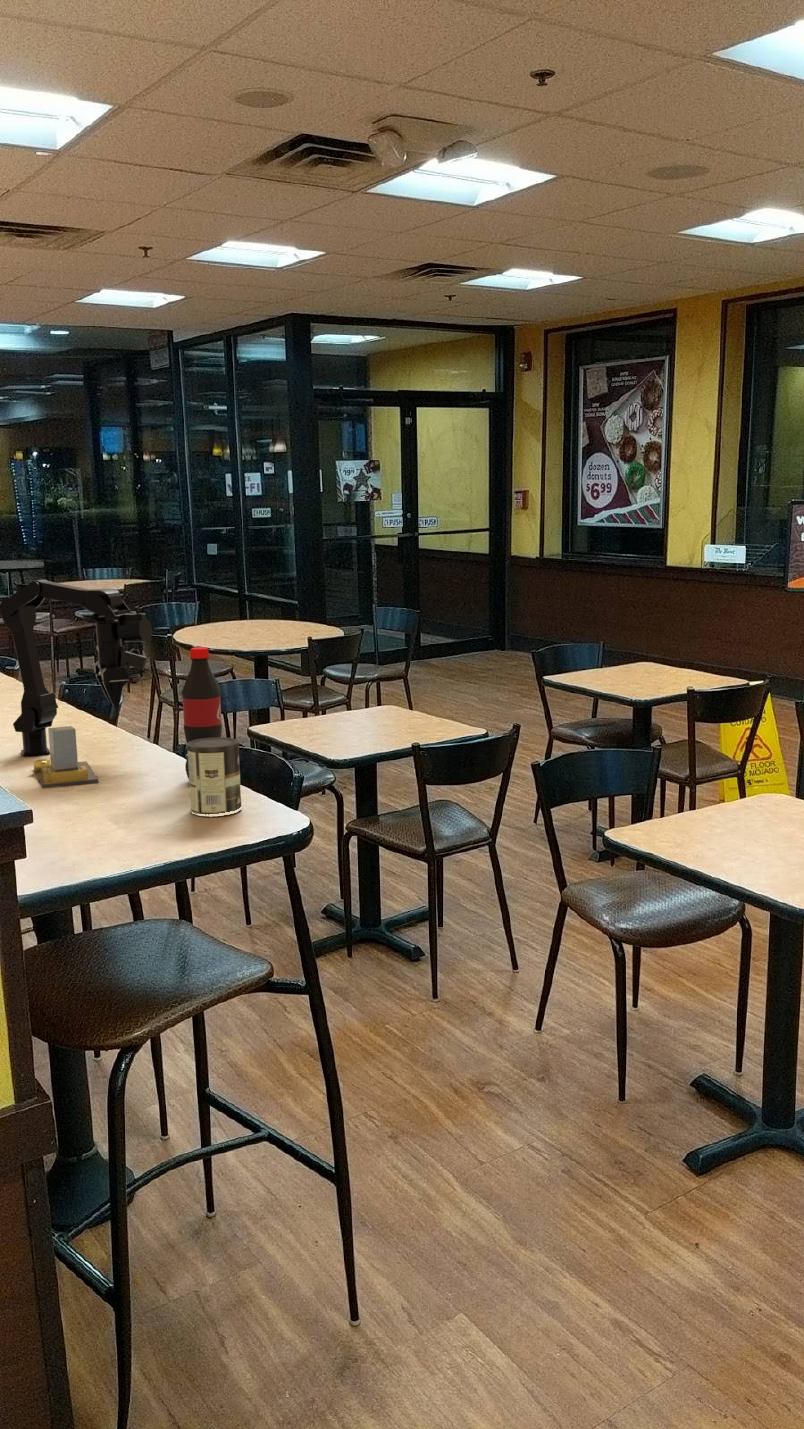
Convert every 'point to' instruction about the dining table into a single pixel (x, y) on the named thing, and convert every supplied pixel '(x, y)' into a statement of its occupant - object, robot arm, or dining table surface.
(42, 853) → the dining table surface
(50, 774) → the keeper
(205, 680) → the cola bottle
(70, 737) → the link block
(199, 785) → the coffee can
